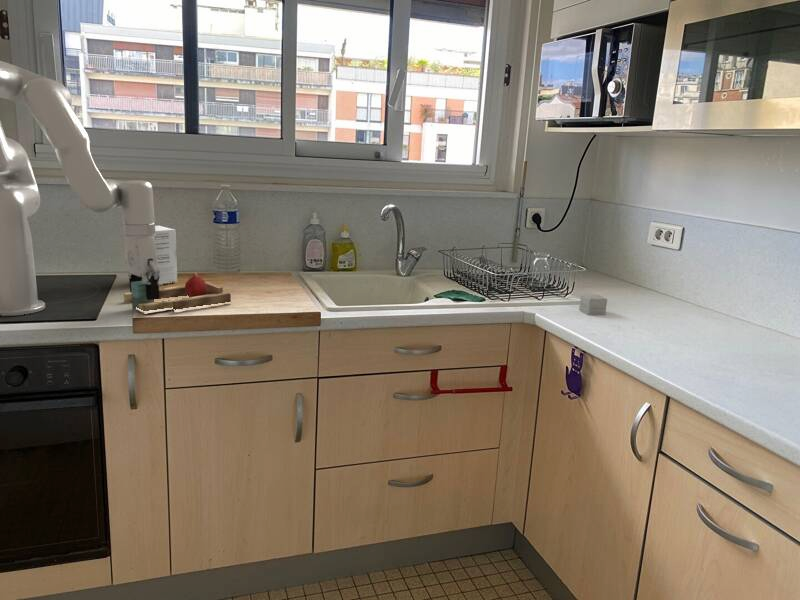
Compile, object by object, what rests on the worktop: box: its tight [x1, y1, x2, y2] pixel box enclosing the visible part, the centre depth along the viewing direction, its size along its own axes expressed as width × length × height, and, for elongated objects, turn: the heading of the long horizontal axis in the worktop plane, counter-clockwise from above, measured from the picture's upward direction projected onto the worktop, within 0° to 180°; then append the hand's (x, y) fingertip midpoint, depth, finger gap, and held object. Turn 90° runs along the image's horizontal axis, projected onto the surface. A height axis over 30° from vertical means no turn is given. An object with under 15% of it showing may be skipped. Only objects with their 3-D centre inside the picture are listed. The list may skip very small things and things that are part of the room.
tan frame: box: [130, 280, 224, 311], centre depth 175 cm, size 22×10×7 cm, turn 135°
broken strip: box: [123, 284, 185, 304], centre depth 183 cm, size 21×1×2 cm, turn 135°
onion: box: [184, 272, 207, 297], centre depth 180 cm, size 6×6×8 cm
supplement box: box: [142, 225, 178, 284], centre depth 198 cm, size 10×9×17 cm
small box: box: [579, 293, 608, 316], centre depth 188 cm, size 6×6×5 cm
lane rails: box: [159, 287, 232, 310], centre depth 178 cm, size 16×14×3 cm
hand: (144, 295), depth 170 cm, fingers open, 9 cm apart
